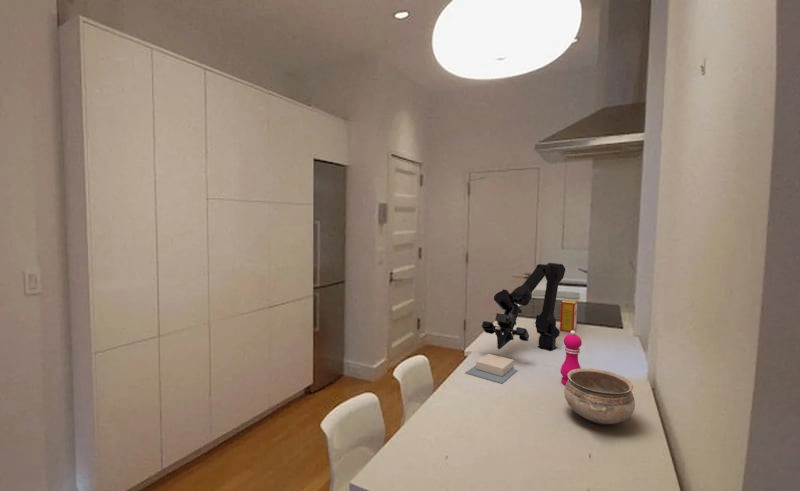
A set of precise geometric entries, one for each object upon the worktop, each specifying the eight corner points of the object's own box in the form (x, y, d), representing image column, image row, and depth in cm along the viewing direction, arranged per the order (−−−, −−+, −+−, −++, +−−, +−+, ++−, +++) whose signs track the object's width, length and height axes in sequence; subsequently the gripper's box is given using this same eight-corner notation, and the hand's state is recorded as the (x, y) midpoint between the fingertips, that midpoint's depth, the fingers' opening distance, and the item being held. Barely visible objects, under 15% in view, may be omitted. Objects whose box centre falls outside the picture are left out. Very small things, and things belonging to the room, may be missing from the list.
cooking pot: (637, 450, 101) (640, 405, 100) (560, 431, 110) (562, 390, 109) (630, 407, 124) (632, 370, 123) (566, 394, 132) (567, 360, 131)
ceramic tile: (488, 353, 160) (476, 361, 152) (513, 359, 154) (502, 368, 145) (488, 361, 161) (476, 369, 152) (513, 367, 154) (502, 376, 145)
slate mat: (482, 361, 161) (482, 360, 161) (517, 370, 152) (517, 369, 152) (465, 373, 149) (465, 372, 149) (502, 384, 140) (502, 382, 140)
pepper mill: (581, 381, 142) (584, 329, 141) (581, 390, 136) (584, 334, 134) (560, 378, 145) (562, 326, 144) (559, 386, 139) (561, 331, 137)
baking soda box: (573, 333, 201) (574, 302, 199) (559, 331, 204) (561, 301, 203) (576, 328, 209) (577, 299, 207) (563, 326, 212) (564, 298, 211)
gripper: (484, 302, 163) (471, 333, 156) (527, 309, 152) (516, 343, 144) (491, 316, 170) (479, 347, 162) (533, 324, 159) (523, 357, 151)
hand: (498, 348), depth 155 cm, fingers closed
